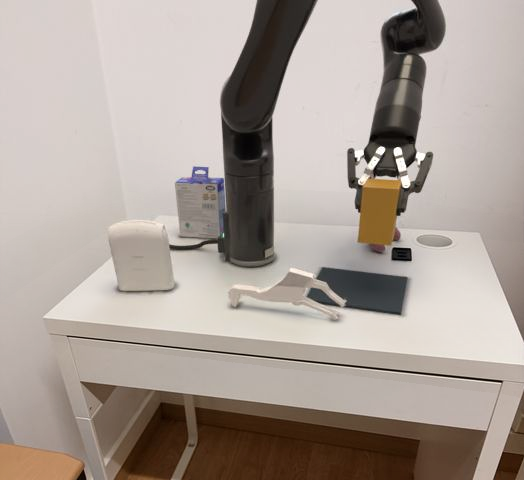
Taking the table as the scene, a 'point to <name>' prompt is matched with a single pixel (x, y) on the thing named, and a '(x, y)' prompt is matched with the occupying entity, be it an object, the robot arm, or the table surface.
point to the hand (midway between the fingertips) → (379, 211)
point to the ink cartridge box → (200, 205)
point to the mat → (362, 290)
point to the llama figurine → (289, 291)
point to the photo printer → (141, 255)
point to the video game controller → (382, 247)
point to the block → (378, 211)
